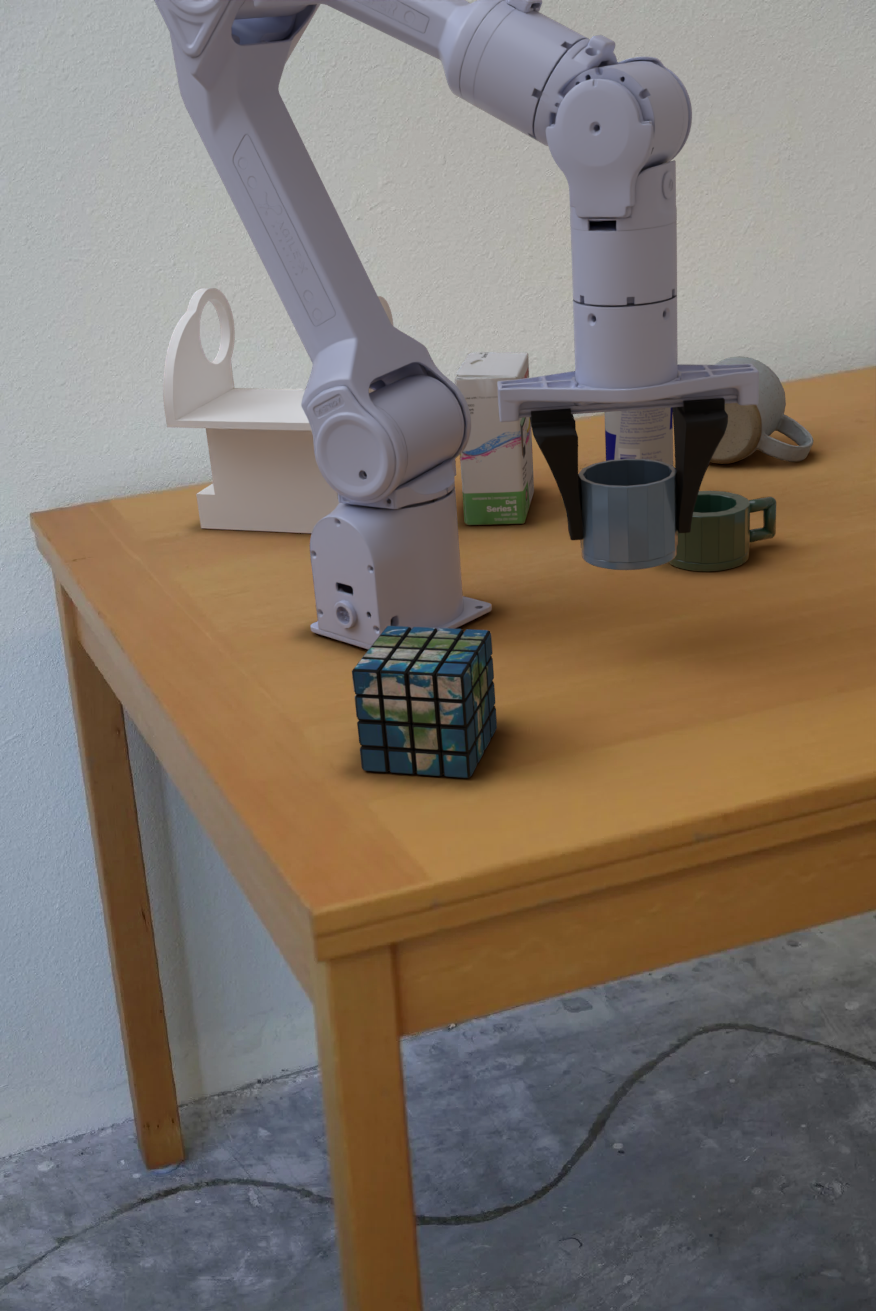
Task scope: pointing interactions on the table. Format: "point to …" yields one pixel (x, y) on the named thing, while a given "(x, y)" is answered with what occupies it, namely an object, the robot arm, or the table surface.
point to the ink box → (494, 443)
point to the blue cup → (629, 513)
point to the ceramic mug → (761, 423)
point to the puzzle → (425, 701)
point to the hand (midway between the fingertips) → (629, 531)
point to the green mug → (723, 531)
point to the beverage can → (639, 434)
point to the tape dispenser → (244, 433)
